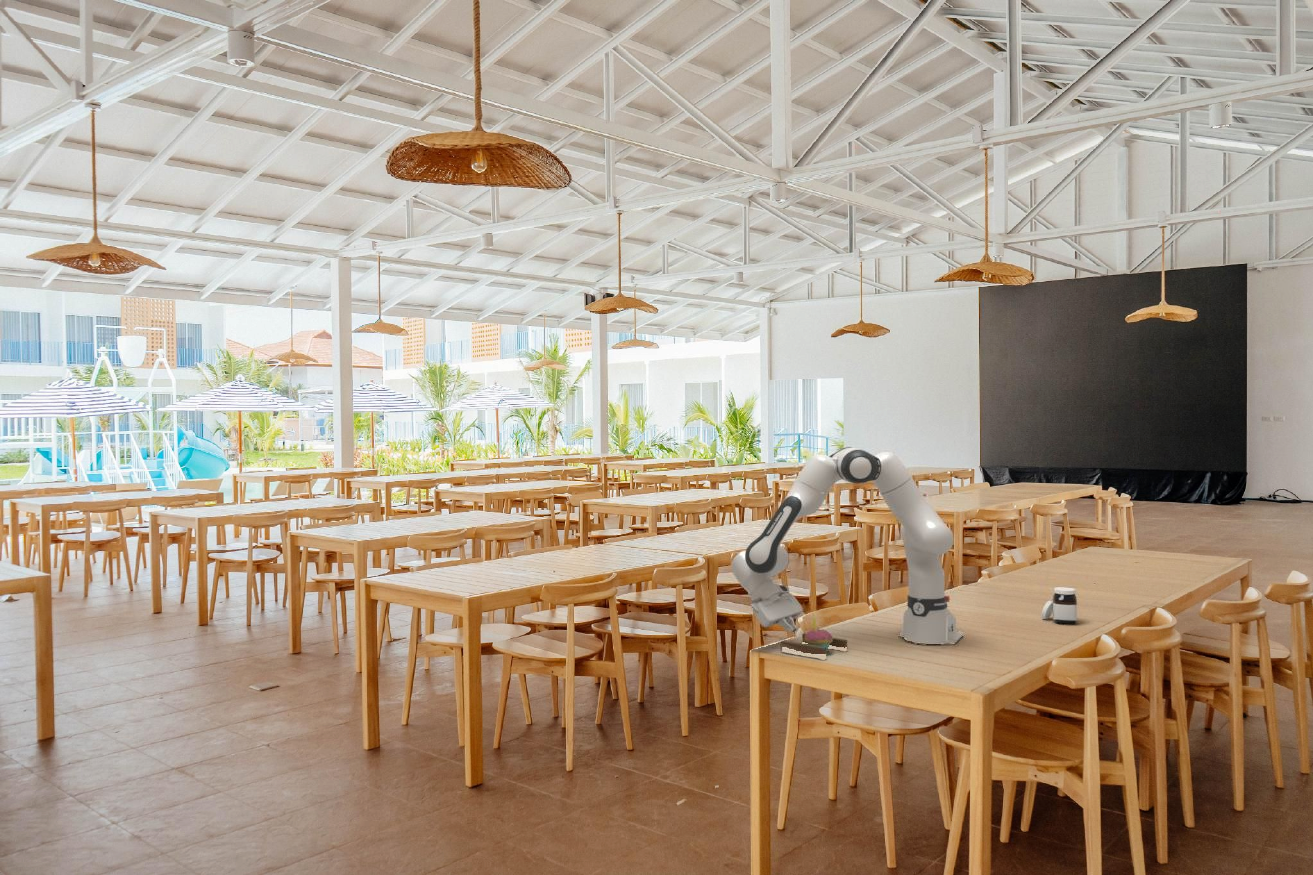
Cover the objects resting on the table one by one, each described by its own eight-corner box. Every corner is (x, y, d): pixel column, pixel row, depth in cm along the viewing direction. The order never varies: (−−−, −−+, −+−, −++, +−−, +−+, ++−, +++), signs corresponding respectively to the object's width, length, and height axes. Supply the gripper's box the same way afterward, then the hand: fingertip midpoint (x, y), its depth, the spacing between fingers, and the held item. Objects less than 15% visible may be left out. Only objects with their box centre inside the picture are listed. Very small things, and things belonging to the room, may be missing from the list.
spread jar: (1078, 626, 328) (1078, 591, 328) (1042, 624, 332) (1042, 590, 331) (1075, 619, 339) (1075, 586, 339) (1040, 617, 343) (1040, 584, 343)
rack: (804, 644, 306) (804, 633, 306) (847, 651, 296) (847, 639, 296) (780, 652, 295) (780, 641, 295) (824, 660, 285) (824, 648, 285)
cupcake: (818, 657, 289) (818, 617, 288) (798, 652, 296) (798, 613, 295) (838, 653, 294) (838, 613, 294) (818, 648, 301) (818, 609, 300)
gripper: (754, 594, 297) (781, 631, 291) (789, 585, 313) (816, 619, 306) (742, 607, 300) (769, 643, 294) (778, 597, 315) (804, 631, 309)
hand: (793, 631), depth 300 cm, fingers closed
